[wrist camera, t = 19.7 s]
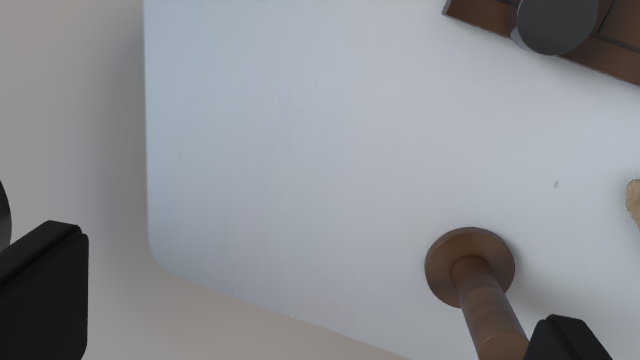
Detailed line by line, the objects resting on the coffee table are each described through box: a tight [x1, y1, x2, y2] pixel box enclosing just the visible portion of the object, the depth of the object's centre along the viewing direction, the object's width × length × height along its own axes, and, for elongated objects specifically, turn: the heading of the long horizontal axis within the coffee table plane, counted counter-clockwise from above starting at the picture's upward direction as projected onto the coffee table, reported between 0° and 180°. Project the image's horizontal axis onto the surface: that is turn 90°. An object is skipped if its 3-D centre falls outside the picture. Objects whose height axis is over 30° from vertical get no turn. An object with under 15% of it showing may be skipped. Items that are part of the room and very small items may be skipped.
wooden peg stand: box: [425, 227, 529, 360], centre depth 35 cm, size 7×7×11 cm
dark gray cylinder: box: [506, 0, 598, 56], centre depth 31 cm, size 5×5×2 cm
